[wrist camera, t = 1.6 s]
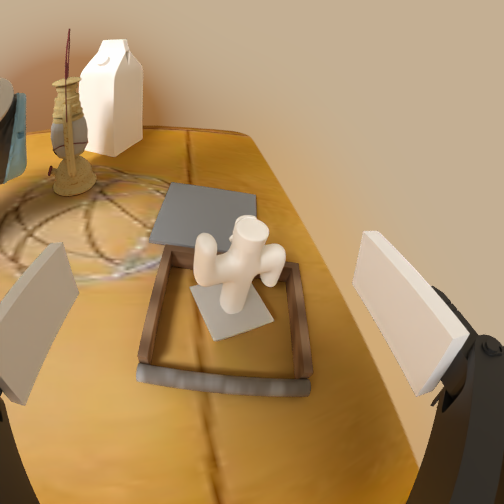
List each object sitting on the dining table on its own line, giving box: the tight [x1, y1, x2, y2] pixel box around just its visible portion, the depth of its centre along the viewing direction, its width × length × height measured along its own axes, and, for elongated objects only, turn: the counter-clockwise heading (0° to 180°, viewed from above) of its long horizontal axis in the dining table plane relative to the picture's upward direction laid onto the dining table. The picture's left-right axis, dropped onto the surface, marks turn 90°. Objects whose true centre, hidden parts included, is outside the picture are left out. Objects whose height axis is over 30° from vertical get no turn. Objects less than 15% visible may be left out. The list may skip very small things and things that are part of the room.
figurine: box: [190, 215, 286, 341], centre depth 29 cm, size 7×9×15 cm
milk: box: [79, 39, 143, 157], centre depth 52 cm, size 12×12×26 cm
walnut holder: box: [136, 244, 313, 397], centre depth 33 cm, size 18×18×3 cm
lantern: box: [48, 29, 96, 196], centre depth 37 cm, size 12×10×30 cm
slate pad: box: [149, 182, 256, 253], centre depth 47 cm, size 16×16×1 cm
